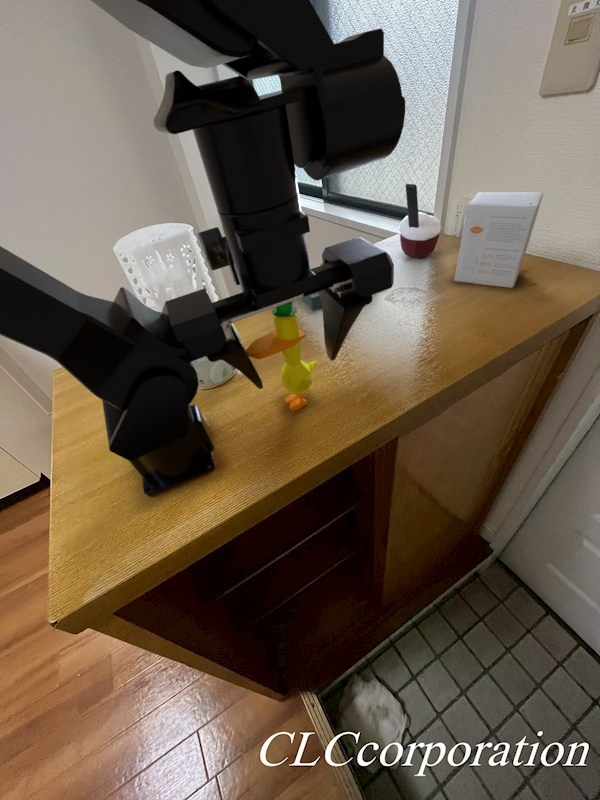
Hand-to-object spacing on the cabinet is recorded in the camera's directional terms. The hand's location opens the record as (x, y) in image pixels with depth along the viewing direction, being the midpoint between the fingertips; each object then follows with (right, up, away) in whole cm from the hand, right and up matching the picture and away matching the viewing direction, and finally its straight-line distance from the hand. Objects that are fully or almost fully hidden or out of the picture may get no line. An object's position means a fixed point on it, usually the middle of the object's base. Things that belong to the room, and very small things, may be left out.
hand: (296, 371), depth 34 cm
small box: (+28, +15, +17) cm, 36 cm away
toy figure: (0, -3, +3) cm, 4 cm away
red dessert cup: (+20, +22, +25) cm, 39 cm away
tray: (+6, +15, +20) cm, 26 cm away
